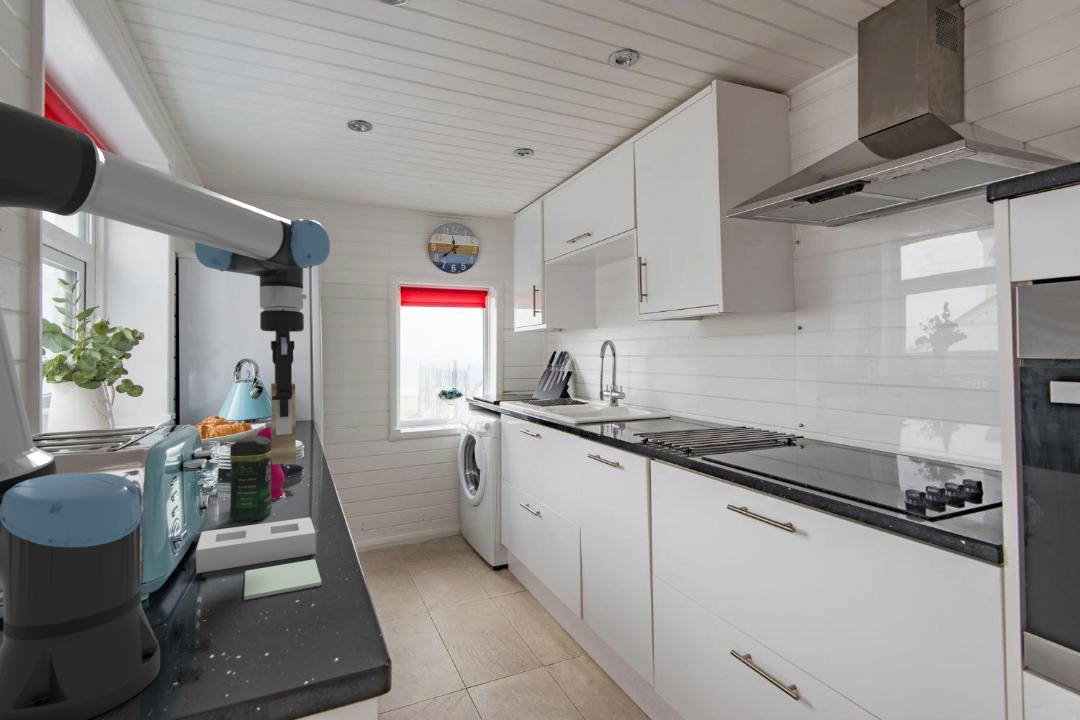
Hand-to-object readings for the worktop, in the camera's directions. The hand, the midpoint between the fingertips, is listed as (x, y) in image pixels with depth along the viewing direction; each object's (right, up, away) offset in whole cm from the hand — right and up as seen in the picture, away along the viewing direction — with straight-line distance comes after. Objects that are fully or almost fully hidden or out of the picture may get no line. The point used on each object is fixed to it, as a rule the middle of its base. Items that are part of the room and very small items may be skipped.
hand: (283, 432), depth 104 cm
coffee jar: (-17, -23, +21) cm, 36 cm away
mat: (+6, -23, -14) cm, 27 cm away
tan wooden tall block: (0, -6, 0) cm, 6 cm away
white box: (-4, -23, -2) cm, 23 cm away
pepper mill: (-22, -23, +39) cm, 50 cm away
